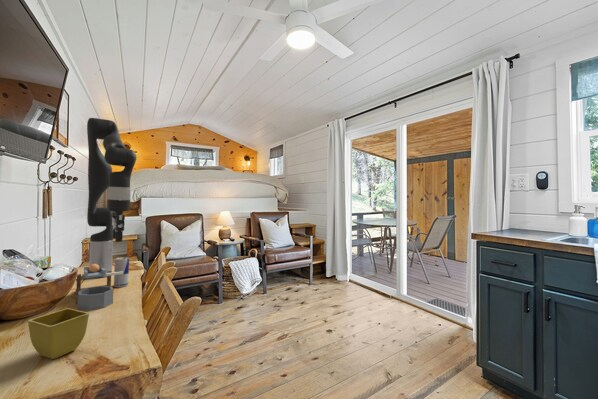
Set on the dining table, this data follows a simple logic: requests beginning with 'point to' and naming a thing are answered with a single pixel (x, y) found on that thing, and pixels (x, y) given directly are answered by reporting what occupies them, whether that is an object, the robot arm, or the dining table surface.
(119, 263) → the energy drink
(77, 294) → the lever stand
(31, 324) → the flower pot
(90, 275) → the ramp lever
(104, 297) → the gray octagonal bowl
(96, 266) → the ball
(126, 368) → the dining table surface
